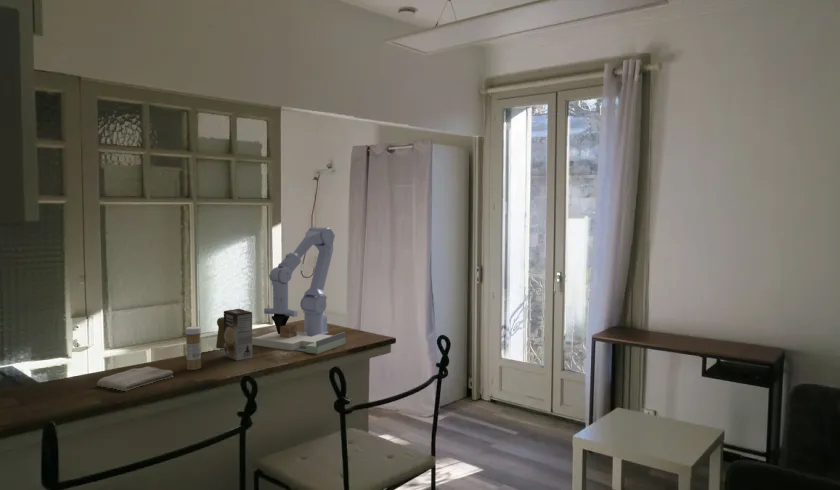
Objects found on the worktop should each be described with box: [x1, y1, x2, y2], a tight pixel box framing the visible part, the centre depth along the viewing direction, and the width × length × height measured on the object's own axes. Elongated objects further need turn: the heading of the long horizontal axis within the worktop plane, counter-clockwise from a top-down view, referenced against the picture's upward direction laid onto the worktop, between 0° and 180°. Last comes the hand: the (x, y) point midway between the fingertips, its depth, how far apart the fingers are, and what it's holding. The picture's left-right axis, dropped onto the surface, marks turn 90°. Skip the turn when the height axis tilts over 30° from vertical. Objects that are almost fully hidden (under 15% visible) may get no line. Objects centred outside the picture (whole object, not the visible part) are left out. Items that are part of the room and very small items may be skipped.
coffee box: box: [223, 308, 253, 361], centre depth 207 cm, size 9×6×16 cm
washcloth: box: [96, 366, 174, 392], centre depth 178 cm, size 12×18×3 cm, turn 154°
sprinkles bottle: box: [185, 325, 202, 371], centre depth 192 cm, size 5×5×13 cm
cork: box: [215, 316, 224, 350], centre depth 222 cm, size 6×6×11 cm
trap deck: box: [252, 330, 347, 355], centre depth 227 cm, size 18×30×4 cm, turn 64°
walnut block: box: [280, 324, 298, 338], centre depth 229 cm, size 4×4×4 cm
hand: (280, 333), depth 231 cm, fingers closed
